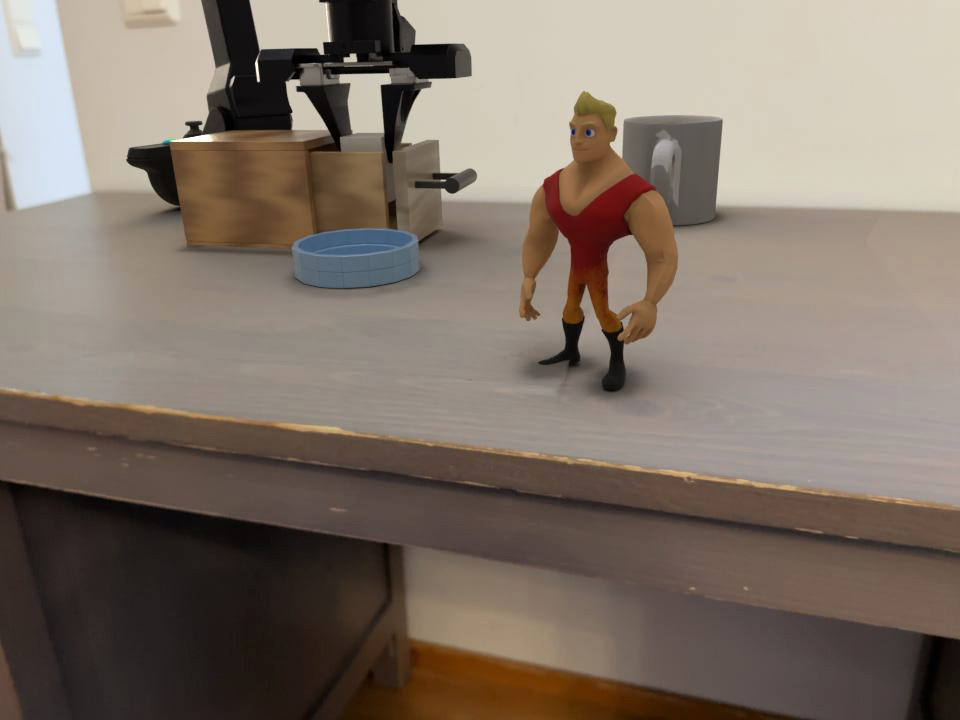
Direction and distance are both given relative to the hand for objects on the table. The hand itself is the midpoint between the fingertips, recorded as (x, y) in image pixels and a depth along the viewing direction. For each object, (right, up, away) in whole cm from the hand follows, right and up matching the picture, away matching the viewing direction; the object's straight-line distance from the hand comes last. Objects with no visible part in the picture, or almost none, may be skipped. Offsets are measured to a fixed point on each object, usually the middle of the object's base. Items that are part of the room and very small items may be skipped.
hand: (370, 162), depth 73 cm
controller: (-27, 0, +24) cm, 36 cm away
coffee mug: (+29, -4, +10) cm, 31 cm away
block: (0, -3, +1) cm, 4 cm away
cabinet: (-10, -6, +5) cm, 13 cm away
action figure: (+16, -19, -29) cm, 39 cm away
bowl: (0, -12, -9) cm, 15 cm away
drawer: (+1, -6, +2) cm, 7 cm away
